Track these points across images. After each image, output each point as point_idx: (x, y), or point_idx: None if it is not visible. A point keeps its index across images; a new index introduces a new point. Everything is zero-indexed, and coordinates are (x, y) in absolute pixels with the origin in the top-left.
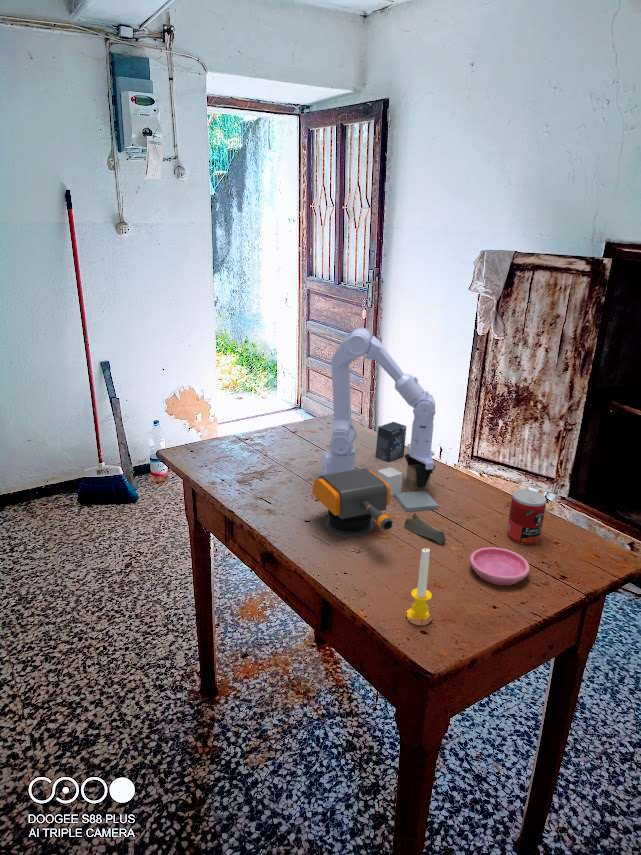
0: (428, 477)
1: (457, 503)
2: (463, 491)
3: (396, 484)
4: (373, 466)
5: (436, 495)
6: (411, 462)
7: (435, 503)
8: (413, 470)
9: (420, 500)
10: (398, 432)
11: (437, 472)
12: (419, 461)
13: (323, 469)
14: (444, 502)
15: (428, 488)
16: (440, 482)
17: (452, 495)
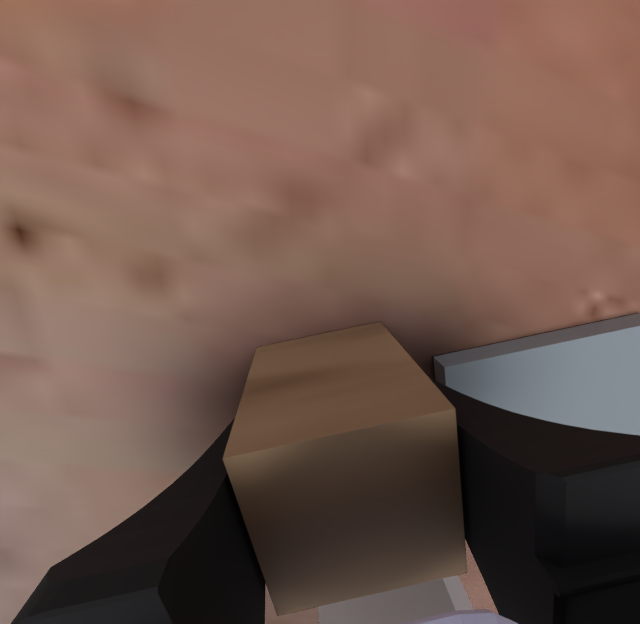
0: (480, 404)
1: (604, 154)
2: (412, 19)
3: (451, 578)
4: (23, 598)
5: (460, 283)
6: (255, 618)
7: (635, 334)
8: (421, 573)
9: (574, 417)
10: None
11: (3, 169)
12: (224, 545)
13: None
14: (568, 251)
15: (383, 329)
16: (232, 196)
17: (475, 156)
